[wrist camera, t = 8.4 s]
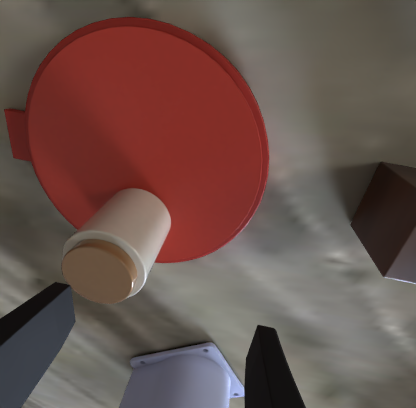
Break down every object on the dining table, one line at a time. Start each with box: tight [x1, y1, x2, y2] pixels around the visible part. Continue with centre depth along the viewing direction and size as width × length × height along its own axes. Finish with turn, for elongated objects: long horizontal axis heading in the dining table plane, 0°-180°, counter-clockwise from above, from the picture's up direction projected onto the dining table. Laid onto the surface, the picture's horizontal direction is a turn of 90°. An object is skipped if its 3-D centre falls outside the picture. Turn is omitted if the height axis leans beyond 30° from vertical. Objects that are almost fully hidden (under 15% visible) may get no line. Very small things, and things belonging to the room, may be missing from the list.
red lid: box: [4, 17, 269, 263], centre depth 17 cm, size 17×15×1 cm
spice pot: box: [61, 188, 171, 304], centre depth 16 cm, size 4×4×6 cm
